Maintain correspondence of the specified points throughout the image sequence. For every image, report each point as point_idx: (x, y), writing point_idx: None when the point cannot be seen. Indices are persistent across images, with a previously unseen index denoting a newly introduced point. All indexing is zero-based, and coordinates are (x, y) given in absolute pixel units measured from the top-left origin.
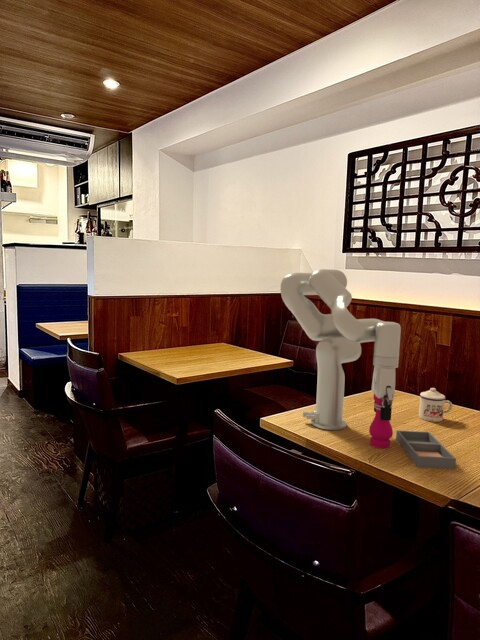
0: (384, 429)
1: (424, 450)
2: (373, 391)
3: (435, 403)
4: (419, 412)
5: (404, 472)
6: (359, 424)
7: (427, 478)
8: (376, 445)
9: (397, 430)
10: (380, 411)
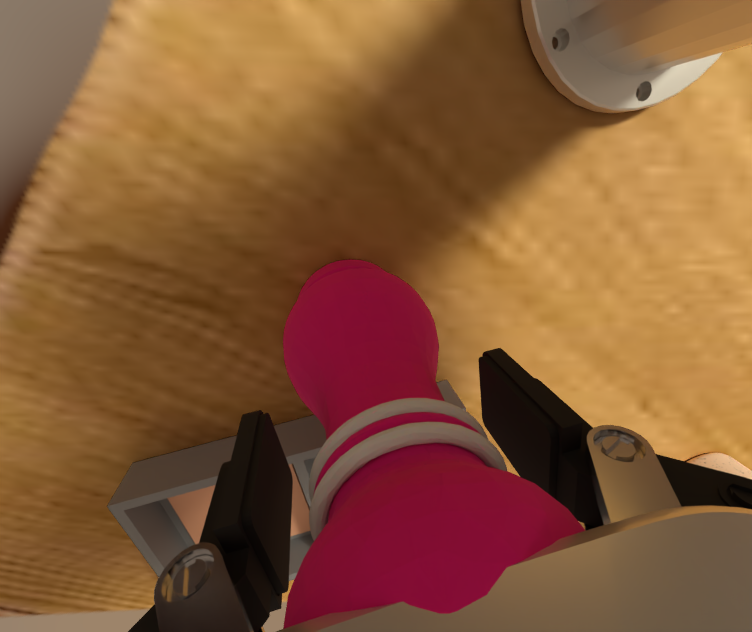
0: (295, 386)
1: None
2: (592, 596)
3: None
4: (726, 468)
5: (22, 420)
6: (634, 202)
7: (20, 498)
8: (299, 296)
9: (465, 410)
10: (246, 470)
